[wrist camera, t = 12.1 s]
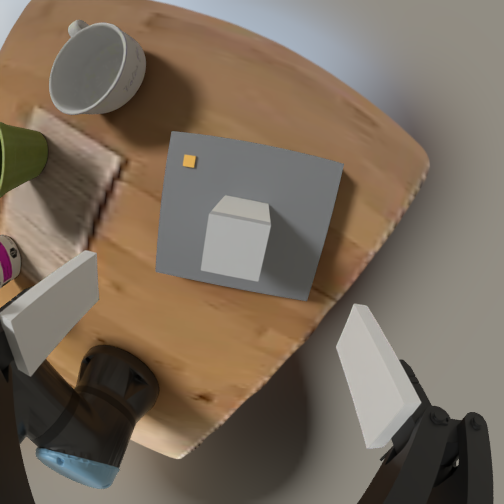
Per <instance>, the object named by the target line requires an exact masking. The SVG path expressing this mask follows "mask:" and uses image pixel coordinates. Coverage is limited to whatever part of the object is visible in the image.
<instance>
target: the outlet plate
mask: <svg viewBox="0 0 504 504" xmlns="http://www.w3.org/2000/svg"><path fill="white" fill-rule="evenodd" d="M343 166H344V164H342V163H339V162H335V161H332V160H328V159H324V158H320V157H316V156H312V155H308V154H304V153H300V152H295V151H291V150H286V149H282V148H277V147H272V146H267V145H262V144H257V143H252V142H246V141H241V140H235V139H229V138H222V137H216V136H209V135H201V134H193V133H185V132H176V131H172V132H171V138H170V144H169V150H168V156H167V163H166V170H165V177H164V184H163V192H162V201H161V210H160V219H159V230H158V242H157V256H156V272H159V273H164V274H168V275H173V276H177V277H182V278H187V279H191V280H196V281H201V282H206V283H211V284H216V285H221V286H226V287H231V288H236V289H242V290H247V291H252V292H258V293H263V294H268V295H274V296H280V297H285V298H291V299H297V300H303V301H307V299H308V296H309V292H310V289H311V286H312V283H313V279H314V276H315V273H316V269H317V266H318V263H319V259H320V256H321V252H322V249H323V245H324V242H325V238H326V234H327V231H328V227H329V223H330V219H331V216H332V212H333V208H334V204H335V200H336V196H337V192H338V188H339V183H340V179H341V175H342V171H343ZM225 195H227V196H232V197H238V198H243V199H248V200H253V201H258V202H263V203H268V205H269V213H270V222H271V228H270V232H269V237H268V241H267V246H266V250H265V254H264V259H263V263H262V268H261V272H260V276H259V281H258V282H257V281H252V280H247V279H242V278H237V277H231V276H226V275H221V274H216V273H212V272H207V271H202V270H201V265H202V257H203V250H204V244H205V237H206V230H207V224H208V217H209V213H210V212H211V211H212V210H213V208H214V207H215V206H216V205H217V204H218V203H219V202H220V200H221V199H222V198H223V197H224V196H225Z"/></svg>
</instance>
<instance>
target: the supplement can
mask: <svg viewBox="0 0 504 504" xmlns="http://www.w3.org/2000/svg"><path fill="white" fill-rule="evenodd" d="M20 268H21V257H20V254H19V250H18V248H17V246H16V244H15V243H14V241H13V240H12V239H11V238H9V237H8V236H7V235H0V288H1V287H3V286H4V285H6V284H7V283H8V282H10V281H11V280H13V279H14V278H16V277H17V276H18V275H19V273H20Z"/></svg>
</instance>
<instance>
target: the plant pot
mask: <svg viewBox="0 0 504 504" xmlns="http://www.w3.org/2000/svg"><path fill="white" fill-rule="evenodd" d="M47 156H48V147H47V142H46V139H45V138H44V137H43V136H42V134H41V133H40V132H38V131H34V130H29V129H24V128H20V127H15V126H10V125H6V124H4V123H2V122H0V198H1V197H2V196H3V195H4V194H5V193H7V192H8V191H10V190H12V189H14V188H16V187H18V186H19V185H21V184H23V183H25V182H27V181H29V180H31V179H33V178H35V177H37V176H38V175H39V174H40V173H41V172H42V170H43V168H44V166H45V164H46V162H47Z"/></svg>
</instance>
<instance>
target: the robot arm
mask: <svg viewBox="0 0 504 504" xmlns="http://www.w3.org/2000/svg"><path fill="white" fill-rule="evenodd" d="M98 300H99V291H98V274H97V253H94V252H90V251H86V250H85V251H83V252H82V253H80V254H79V255H77V256H76V257H74V258H73V259H71V260H70V261H68V262H67V263H66V264H64V265H63V266H61V267H60V268H58V269H57V270H55V271H54V272H53V273H51V274H50V275H48V276H47V277H46V278H44V279H43V280H42V281H40V282H39V283H38V284H36V285H35V286H32V287H30V288H27V289H25V290H23V291H22V292H20V293H19V294H18V295H17V297H16V296H15V297H14V298H13V299H11V301H9V302H7V303H6V304H5V305H4V306H2V307H1V308H0V504H35V502H34V499H33V496H32V493H31V489H30V486H29V483H28V479H27V475H26V472H25V468H24V464H23V459H22V455H21V450H20V443H21V442H22V441H23V440H24V438H25V437H28V438H29V439H30V440H31V441H32V442H33V443H35V444H36V445H37V446H38V448H37V449H36V457H37V458H38V459H39V460H40V461H41V462H42V463H43V464H45V465H46V466H48V467H49V468H51V469H52V470H54V471H56V472H57V473H59V474H61V475H63V476H65V477H67V478H69V479H71V480H73V481H76V482H78V483H81V484H83V485H87V486H89V487H93V488H97V489H105V488H108V487H110V486H111V485H112V483H113V481H114V479H115V477H116V475H117V473H118V472H119V467H120V464H121V461H122V459H123V456H124V453H125V451H126V448H127V445H128V443H129V440H130V438H131V435H132V432H133V430H134V427H135V425H136V423H137V422H138V421H139V420H140V419H141V418H142V417H143V416H144V415H145V414H146V413H147V412H148V411H149V410H150V409H151V408H152V407H153V405H154V404H155V402H156V399H157V397H158V394H159V385H158V382H157V380H156V378H155V376H154V375H153V373H152V372H151V371H150V369H149V368H148V367H147V366H146V365H145V364H144V363H142V362H141V361H140V360H139V359H137V358H136V357H134V356H133V355H131V354H130V353H128V352H126V351H124V350H121V349H119V348H116V347H112V346H107V345H99V346H95V347H93V348H91V349H90V350H89V351H88V352H87V354H86V355H85V356H84V358H83V360H82V362H81V366H80V371H79V375H78V380H77V385H76V387H75V389H73V388H72V387H71V386H70V385H69V384H68V383H67V382H66V381H65V380H64V378H63V377H62V376H61V375H60V374H59V373H58V372H57V371H56V370H55V369H54V368H53V366H52V365H51V364H50V363H49V362H48V361H47V360H46V358H47V356H48V355H49V354H50V353H51V352H52V351H53V349H54V348H55V347H56V346H57V345H58V344H59V342H60V341H61V340H62V339H63V338H64V337H65V336H66V335H67V333H68V332H69V331H70V330H71V329H72V328H73V327H74V326H75V325H76V323H77V322H78V321H79V320H80V319H81V318H82V317H83V316H84V315H85V314H86V313H87V312H88V311H89V309H90V308H91V307H92V306H93V305H94V304H95V303H96V302H97V301H98ZM336 349H337V352H338V354H339V358H340V361H341V364H342V367H343V370H344V373H345V376H346V379H347V383H348V386H349V389H350V392H351V396H352V399H353V402H354V405H355V409H356V412H357V415H358V419H359V422H360V426H361V429H362V433H363V436H364V440H365V443H366V448H367V449H371V448H381V447H384V446H385V445H386V444H387V442H389V440H390V439H392V442H393V445H394V446H393V447H392V448H391V449H390V450H389V451H388V452H387V453H386V454H385V455H384V456H383V457H382V458H381V459H380V460H381V461H382V460H383V459H384V458H385V459H384V461H383V463H382V465H381V466H380V468H379V470H378V472H377V473H376V475H375V477H374V478H373V480H372V482H371V483H370V485H369V487H368V488H367V490H366V491H365V493H364V494H363V496H362V498H361V499H360V500H359V502H358V503H357V504H493V474H492V473H493V471H492V459H491V450H490V441H489V434H488V428H487V424H486V421H485V420H484V418H483V417H482V416H481V415H480V414H477V413H475V412H470V413H467V415H466V416H465V417H464V418H463V420H455V419H450V417H449V415H448V414H447V412H446V411H445V410H443V409H442V408H440V407H437V406H432V405H431V403H430V402H429V400H428V398H427V396H426V394H425V392H424V391H423V388H422V387H421V385H420V384H419V381H418V379H417V378H416V377H415V374H414V372H413V370H412V369H411V367H410V366H409V365H408V364H407V363H406V362H405V361H404V360H399V359H398V358H397V356H396V354H395V353H394V350H393V349H392V347H391V345H390V343H389V342H388V340H387V338H386V337H385V335H384V333H383V331H382V330H381V328H380V326H379V325H378V323H377V321H376V320H375V318H374V316H373V315H372V313H371V311H370V310H369V308H368V306H366V305H359V304H354V305H353V308H352V310H351V312H350V315H349V318H348V320H347V322H346V325H345V327H344V330H343V332H342V334H341V336H340V339H339V341H338V343H337V346H336ZM458 459H459V465H458V466H456V461H457V460H458Z"/></svg>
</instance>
